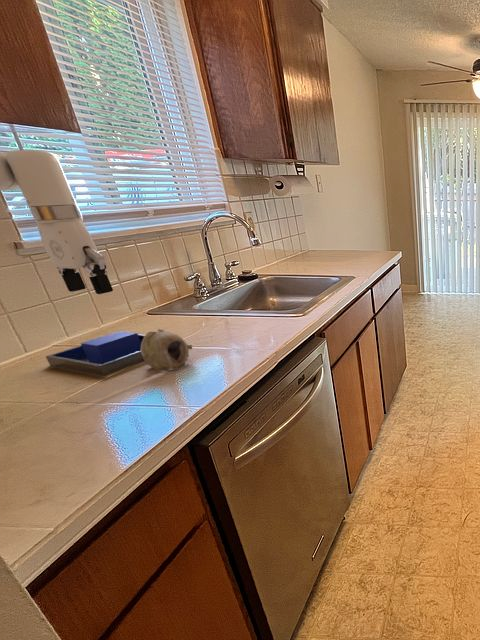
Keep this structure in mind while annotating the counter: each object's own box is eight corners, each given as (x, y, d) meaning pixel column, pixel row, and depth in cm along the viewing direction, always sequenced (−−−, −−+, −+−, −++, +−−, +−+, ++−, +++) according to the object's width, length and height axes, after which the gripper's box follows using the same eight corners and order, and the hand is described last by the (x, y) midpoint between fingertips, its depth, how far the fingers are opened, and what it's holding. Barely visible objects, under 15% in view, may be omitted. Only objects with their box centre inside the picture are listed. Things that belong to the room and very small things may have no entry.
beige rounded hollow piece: (155, 382, 95) (121, 350, 89) (166, 363, 101) (135, 332, 95) (194, 366, 96) (163, 334, 90) (202, 348, 102) (173, 317, 96)
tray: (51, 368, 97) (45, 356, 96) (128, 342, 112) (124, 331, 111) (105, 378, 91) (99, 366, 90) (179, 350, 107) (175, 338, 105)
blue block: (89, 361, 99) (80, 343, 97) (128, 348, 106) (120, 330, 104) (105, 364, 97) (96, 345, 95) (143, 350, 105) (136, 332, 103)
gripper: (10, 215, 86) (48, 293, 93) (61, 216, 81) (97, 298, 88) (53, 213, 92) (86, 285, 99) (103, 213, 87) (133, 289, 94)
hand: (91, 291), depth 94 cm, fingers open, 9 cm apart
